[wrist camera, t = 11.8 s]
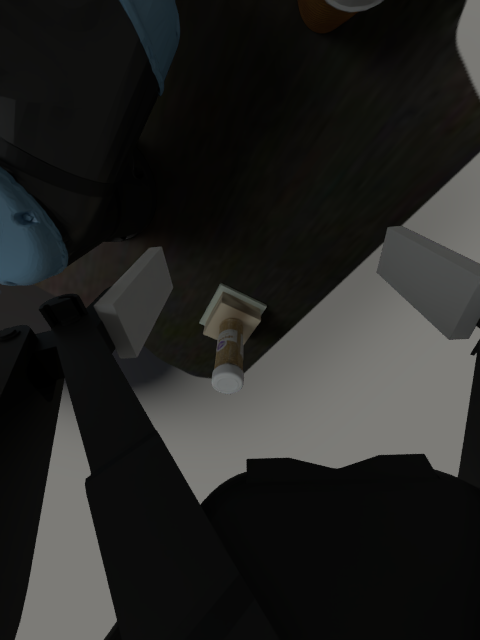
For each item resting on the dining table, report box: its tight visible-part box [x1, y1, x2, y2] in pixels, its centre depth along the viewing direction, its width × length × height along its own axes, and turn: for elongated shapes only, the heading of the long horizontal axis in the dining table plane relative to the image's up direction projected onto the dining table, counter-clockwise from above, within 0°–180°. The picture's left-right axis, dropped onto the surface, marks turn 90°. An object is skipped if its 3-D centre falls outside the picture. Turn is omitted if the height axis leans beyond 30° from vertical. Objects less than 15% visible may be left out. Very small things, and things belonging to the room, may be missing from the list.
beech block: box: [203, 291, 261, 345], centre depth 47 cm, size 8×8×4 cm
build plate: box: [200, 283, 267, 326], centre depth 49 cm, size 10×10×1 cm
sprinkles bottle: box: [212, 318, 244, 394], centre depth 40 cm, size 5×5×14 cm
